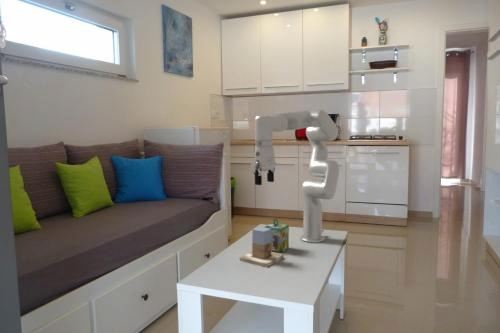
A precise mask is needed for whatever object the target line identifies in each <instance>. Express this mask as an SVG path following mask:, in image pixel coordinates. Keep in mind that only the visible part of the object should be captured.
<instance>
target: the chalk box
mask: <svg viewBox="0 0 500 333" xmlns="http://www.w3.org/2000/svg"><path fill="white" fill-rule="evenodd" d="M289 226H290V225H289V224H283V223H279V219H278V218H277V217H275V218H273V220H272V223H269V224H267V225H266V226H264V227H265V228H270V229H271V252H274V253H280V254H281V253H283V252H284V251H286V250H288V249H289V247H290V245H289V244H290V243H289V238H290V234H289V232H290V227H289Z"/></svg>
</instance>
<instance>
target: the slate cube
mask: <svg viewBox="0 0 500 333" xmlns="http://www.w3.org/2000/svg"><path fill="white" fill-rule="evenodd" d="M251 235H252V238H251V239H252V241H251V242H252V243H255V244H260V245H266V244H268V243H270V242H271V229H270V228H265V226H264V227H263V226H259V227H256V228H253V229H252V234H251Z"/></svg>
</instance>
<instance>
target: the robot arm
mask: <svg viewBox="0 0 500 333" xmlns="http://www.w3.org/2000/svg"><path fill="white" fill-rule="evenodd" d="M301 129H305V135H306V137H307V140H308V141H309V144H310V147H311V153H310V158H309V163H308V164H309V165H308V175H310V177H312V178H309V179H305V180H304V181H303V182H302V184H301V194H302V199H303V218H302V219H303V224H302V225H303V228H302V231H303V234H301V235H300V237H299V239H300V240H301V241H303V242H306V243H313V244H315V243H322V242H324V241H325V239H326V237H325V236H324V235H322V234H323V233H324V231H325V229H323V204H322V201H321V200H329V201H330V200H332V199H333V198H334V197H335V195H336V191H337V185H338V182H339V175H340V166H339V164H338V161H336V160H334V159H328V154H329V148H328V146H327V145H326V142H332V141H335V140H336V139H337V137H338V135H339V129H338V127H337V125H336V123H335V122H334V120H333V119H332V118H331V117H330V115H329V114H328V113H327V112H326V111H325V110H324V109H306V110H298V111H296V110H295V111H289V112H283V113H275V114H267V115H266V114H265V115H257V116H255V118H254V142H255V144H254V145H255V146H254V159H253V161H254V162H253V165H251V169H252V173H253V176H254V185H257V186H262V184H263V183H262V182H263V180H262V179H263V178H262V173H263V172H266V171H267V172H266V179H267V180H266V181H267V182H269V183H274V182H275V170H276V165H277V163H276V159H275V150H274V147H273V143H274V142H273V139H274V138H273V133H281V132H285V131H294V130H295V131H296V130H301ZM313 177H314V178H322V179H314V178H313Z"/></svg>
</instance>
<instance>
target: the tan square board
mask: <svg viewBox="0 0 500 333" xmlns="http://www.w3.org/2000/svg"><path fill="white" fill-rule="evenodd" d="M282 259H284V254H281V253H279V252H274V251H271V256H269V257H267V258H265V259H262V258H257V257H253V256H252V251H251V252H248V253H246V254H245V255H242V256H240V257H239V261H241V262H244V263H247V264H248V263H249V264H253V265H257V266H261V267H265V268H268V267H269V266H271V265H273V264H275V263H277V262H279V261H280V260H282Z"/></svg>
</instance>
